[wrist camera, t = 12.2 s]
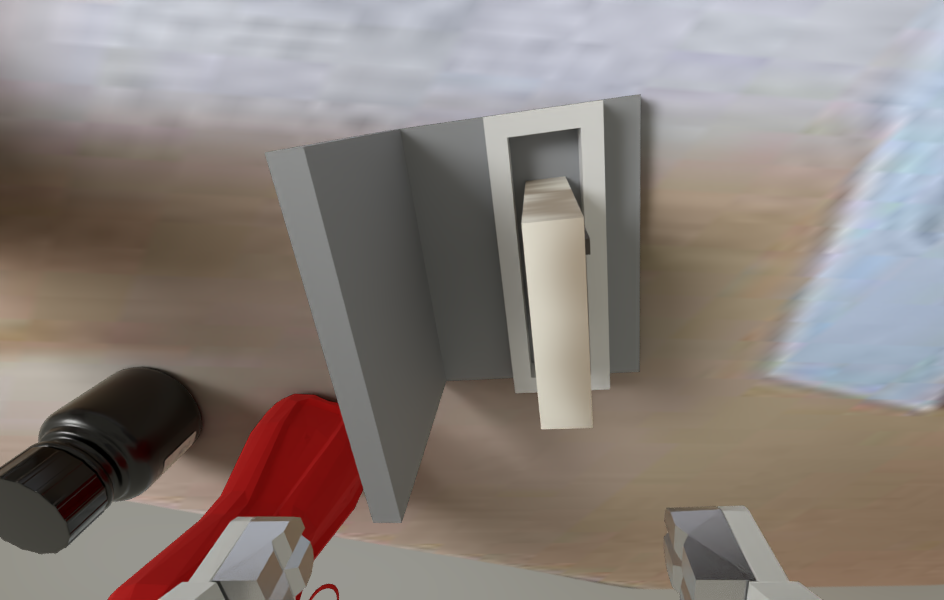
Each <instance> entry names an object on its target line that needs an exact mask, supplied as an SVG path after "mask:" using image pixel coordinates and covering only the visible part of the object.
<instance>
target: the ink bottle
mask: <svg viewBox="0 0 944 600" xmlns="http://www.w3.org/2000/svg"><path fill="white" fill-rule="evenodd" d="M201 426H202V422H201V415H200V412H199V409H198V407H197V404H196V403H195V401H194V399H193V397H192V396H191V395H190V393H189V392H188V391H187V390H186V388H185V387H184V386H183V385H182V384H180V383H179V382H178V381H177V380H175V379H174V378H172V377H171V376H169V375H167V374H165V373H163V372H160V371H157V370H153V369H149V368H141V367H135V368H127V369H123V370H121V371H118V372H116V373H115V374H113V375H111V376H110V377H108V378H107V379H105V380H104V381H102V382H100V383H99V384H97V385H96V386H94V387H93V388H91V389H90V390H88V391H86V392H85V393H83V394H82V395H80V396H79V397H77V398H76V399H74V400H72V401H71V402H69V403H68V404H66V405H65V406H63V407H62V408H60V409H58V410H57V411H55V412H54V413H53V414H51V415H50V416H49V417H48V418H47V419H46V420H45V421H44V423H43V424H42V426H41V429H40V432H39V437H38V443H36V444H34V445H32V446H30V447H29V448H27V449H26V450H24V451H23V452H21V453H20V454H18V455H17V456H15V457H14V458H13V459H11V460H10V461H8V462H7V463H5V464H4V465H2V466H1V467H0V537H1V538H2V539H3V540H4V541H7V542H9V543H11V544H13V545H15V546H17V547H19V548H20V549H23V550H28V551H31V552H35V553H38V554H45V553H58V552H59V551H60V550H62V549H63V548H66V547H67V546H68V545H69V544H70V543H72V542H73V541H74V540H75V539H76V538H77V537H78V536H79V535H80V534H81V533H82V532H83V531H84V530H85V529H86V528H87V527H89V526H90V525H91V524H92V522H94V521H95V520H96V519H97V518H98V517H99V516H100V515H101V514H102V513H103V512H104V510H106V509H107V508H108V507H109V506H110V505H111V503H112V502H117V501H125V500H129V499H132V498H134V497H136V496H138V495H140V494H142V493H143V492H144V491H146V490H147V489H148V488H149V487H150V486H151V485H152V484H153V483H154V482H155V481H156V480H157V479H158V478H159V477H160V476H161V475H162V474H163V473H164V472H165V471H166V470H167V469H168V468H169V467H170V466H171V465H172V464H173V463H174V462H175V461H176V460H177V459H178V458H179V457H180V456H181V455H182V454H183V453H184V452H185V451H186V450H187V449H188V448H189V447H190V446H191V445H192V444H193V443H194V442H195V441H196V440H197V438H198V437H199V435H200V432H201Z"/></svg>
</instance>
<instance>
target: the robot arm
mask: <svg viewBox="0 0 944 600" xmlns="http://www.w3.org/2000/svg"><path fill="white" fill-rule="evenodd" d="M664 522H665V525H666V528H667V530H668V533H667V534H666V535H665V536H664V554H665V562H666V567H667V571H668V575H669V578H670V582H671V585H672V587H673V588H674V589H675V590H676V591H677V592H678V593H679V594H680V600H822V599H821V598H820V597H818V596H817V595H816V594H814V593H813V592H812V591H810V590H809V589H808V588H806V587H805V586H804V585H802V584H801V583H800V582H794V581H789V579H788V577H787V575H786V574H785V572H784V570H783V568H782V567H781V565H780V563H779V562H778V560H777V558H776V556H775V555H774V553H773V551H772V549H771V548H770V546H769V544H768V542H767V541H766V539H765V537H764V536H763V534H762V532H761V530H760V529H759V527H758V525H757V523H756V522H755V520H754V518H753V516H752V515H751V513H750V511H749V510H748V509H747V508H746V507H745V506H718V507H716V506H704V507H675V508H666V510H665V518H664ZM304 529H305V527H304V524H303V522H302V520H301V518H300V517H260V516H257V517H236V518H235V519H233V520H232V521H231V522H230V523H229V524H228V526H227V527H226V528H225V530H224V531H223V533H222V534H221V536H220V537H219V538H218V540H217V541H216V543H215V544H214V546H213V547H212V548H211V550H210V551H209V553H208V554H207V556H206V557H205V559H204V560H203V561H202V563H201V564H200V566H199V567H198V569H197V570H196V571H195V573H194V574H193V576H192V577H191V579H190V580H189V581H188V582H181V583H180V584H179V585H177V586H176V587H175V588H173V589H172V590H170V591H169V592H168V593H166V594H165V595H164V596H162V597H161V598H160V599H158V600H296V599H295V596H297V595H298V594H299V593H300V592H301V591H302V590H303V589H304V588H305V587H306V586H307V583H308V581H309V578H310V576H311V573H312V567H313V562H314V555H313V548H312V545H311V542H310V541H309V540H307V539H306V538H305V537H304V536H302V533H303V531H304Z"/></svg>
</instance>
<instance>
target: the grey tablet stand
mask: <svg viewBox="0 0 944 600" xmlns="http://www.w3.org/2000/svg"><path fill="white" fill-rule="evenodd" d="M640 118H641V94H640V95H632V96H625V97H618V98H611V99H604V100H597V101H590V102H583V103H576V104H569V105H562V106H556V107H549V108H542V109H535V110H528V111H521V112H514V113H507V114H500V115H493V116H486V117H480V118H473V119H466V120H459V121H452V122H445V123H438V124H431V125H424V126H417V127H410V128H404V129H397V130H390V131H383V132H377V133H372V134H366V135H360V136H355V137H349V138H344V139H338V140H332V141H327V142H321V143H316V144H310V145H304V146H299V147H293V148H288V149H282V150H276V151H271V152H265V156H266V159H267V162H268V166H269V169H270V173H271V176H272V179H273V183H274V186H275V190H276V193H277V197H278V200H279V203H280V207H281V210H282V214H283V217H284V220H285V224H286V227H287V231H288V234H289V237H290V241H291V244H292V248H293V251H294V254H295V258H296V261H297V265H298V268H299V271H300V275H301V278H302V282H303V285H304V288H305V292H306V295H307V299H308V302H309V306H310V309H311V312H312V316H313V319H314V323H315V326H316V329H317V333H318V336H319V340H320V343H321V346H322V350H323V353H324V357H325V360H326V363H327V367H328V370H329V374H330V377H331V380H332V384H333V387H334V391H335V394H336V397H337V401H338V404H339V408H340V411H341V415H342V418H343V421H344V425H345V428H346V432H347V435H348V438H349V442H350V445H351V449H352V452H353V455H354V459H355V462H356V466H357V469H358V472H359V476H360V479H361V483H362V486H363V489H364V493H365V496H366V500H367V503H368V506H369V510H370V513H371V517H372V520H373V523H402V520H403V517H404V514H405V511H406V508H407V504H408V501H409V498H410V495H411V492H412V488H413V485H414V482H415V479H416V476H417V473H418V469H419V466H420V463H421V460H422V457H423V453H424V450H425V447H426V444H427V441H428V437H429V434H430V431H431V428H432V425H433V422H434V418H435V415H436V412H437V409H438V406H439V402H440V399H441V396H442V393H443V390H444V386H445V383H446V381H459V380H480V379H500V378H514V387H515V393H536V392H538V391H537V381H536V370H535V360H534V350H533V339H532V329H531V318H530V308H529V297H528V287H527V276H526V266H525V255H524V245H523V235H522V224H521V223H522V213H523V203H524V192H525V182H526V181H530V180H539V179H547V178H556V177H564V176H565V177H566V179H567V181H568V183H569V186H570V188H571V190H572V192H573V194H574V197H575V199H576V201H577V203H578V206H579V208H580V210H581V212H582V214H583V217H584V226H585V228H586V230H587V233H588V235H589V237H590V253H591V255H585V257H586V280H587V303H588V326H589V349H590V373H591V390H605V389H610V373H622V372H640Z"/></svg>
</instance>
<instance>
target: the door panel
mask: <svg viewBox="0 0 944 600" xmlns="http://www.w3.org/2000/svg"><path fill="white" fill-rule="evenodd" d="M521 224H522V235H523V245H524V255H525V266H526V276H527V287H528V297H529V308H530V318H531V329H532V339H533V350H534V360H535V370H536V381H537V391H538V402H539V412H540V423H541V429H573V428H593V419H592V396H591V373H590V349H589V326H588V303H587V280H586V257H585V255H591V253H590V237H589V235H588V233H587V230H586V228H585V226H584V217H583V214H582V212H581V210H580V208H579V206H578V203H577V201H576V199H575V197H574V194H573V192H572V190H571V188H570V186H569V183H568V181H567V179H566V177H565V176H564V177H556V178H547V179H539V180H530V181H526V182H525V192H524V203H523V213H522V223H521Z"/></svg>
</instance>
